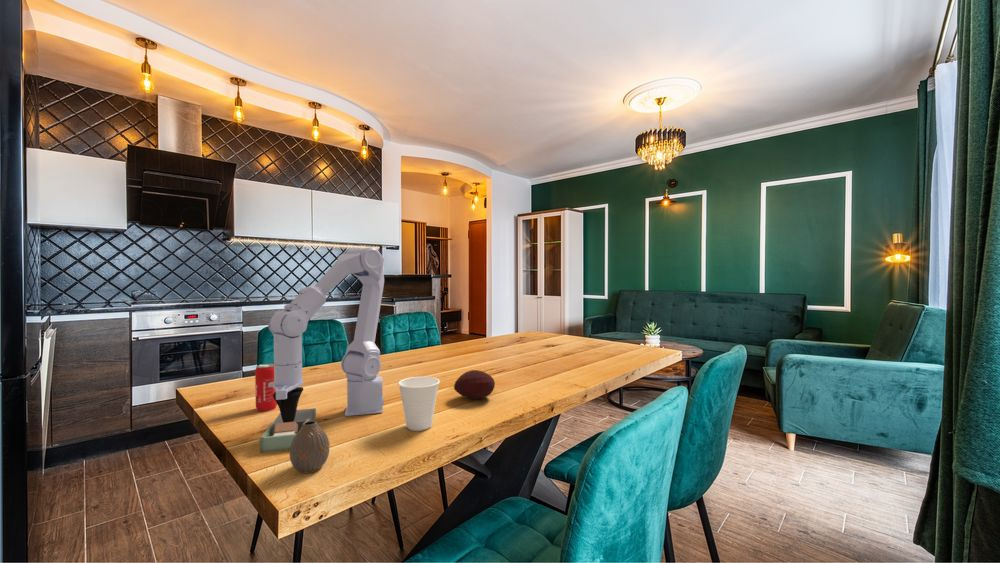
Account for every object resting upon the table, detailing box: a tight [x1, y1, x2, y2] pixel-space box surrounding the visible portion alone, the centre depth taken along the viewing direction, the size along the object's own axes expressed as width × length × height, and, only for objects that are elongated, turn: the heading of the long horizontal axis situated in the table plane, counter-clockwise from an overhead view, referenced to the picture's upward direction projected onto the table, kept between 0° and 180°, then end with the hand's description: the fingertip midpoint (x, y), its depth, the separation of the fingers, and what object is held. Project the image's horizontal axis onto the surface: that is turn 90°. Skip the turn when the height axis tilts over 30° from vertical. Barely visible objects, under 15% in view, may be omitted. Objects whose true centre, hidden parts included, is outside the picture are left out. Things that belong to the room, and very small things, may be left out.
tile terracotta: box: [274, 422, 298, 434], centre depth 90 cm, size 4×4×2 cm
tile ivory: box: [273, 430, 295, 436], centre depth 87 cm, size 4×4×2 cm
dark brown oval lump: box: [453, 369, 496, 400], centre depth 119 cm, size 12×11×8 cm
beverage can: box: [254, 363, 278, 412], centre depth 110 cm, size 5×5×12 cm
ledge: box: [273, 407, 317, 431], centre depth 98 cm, size 8×9×2 cm
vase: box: [289, 420, 330, 474], centre depth 77 cm, size 7×7×9 cm
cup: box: [397, 376, 440, 432], centre depth 97 cm, size 10×10×11 cm
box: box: [259, 419, 310, 454], centre depth 89 cm, size 8×10×3 cm
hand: (288, 421), depth 92 cm, fingers closed
